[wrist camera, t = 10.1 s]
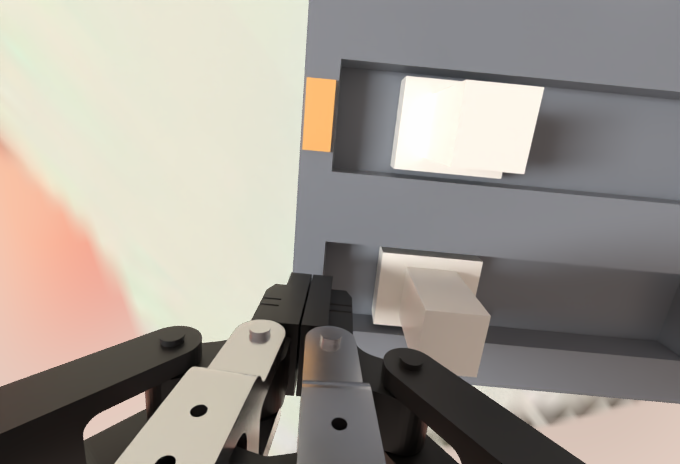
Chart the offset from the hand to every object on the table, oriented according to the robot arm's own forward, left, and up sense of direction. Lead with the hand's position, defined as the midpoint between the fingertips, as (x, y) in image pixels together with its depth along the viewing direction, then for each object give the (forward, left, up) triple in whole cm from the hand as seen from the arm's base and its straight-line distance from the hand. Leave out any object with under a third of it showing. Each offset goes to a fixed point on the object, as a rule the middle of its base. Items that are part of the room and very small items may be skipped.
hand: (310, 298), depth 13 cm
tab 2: (-5, 0, -3) cm, 5 cm away
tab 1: (-5, -6, -3) cm, 8 cm away
